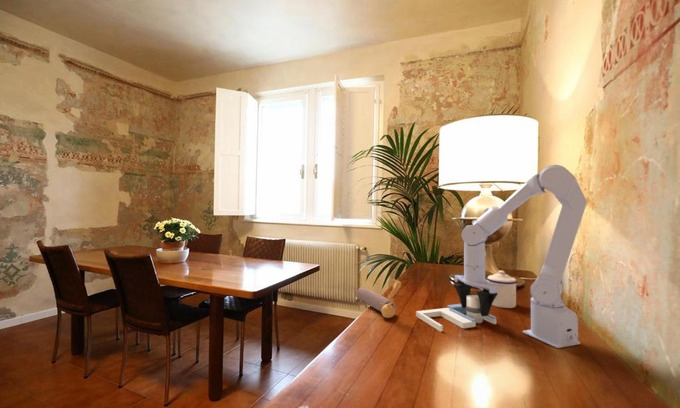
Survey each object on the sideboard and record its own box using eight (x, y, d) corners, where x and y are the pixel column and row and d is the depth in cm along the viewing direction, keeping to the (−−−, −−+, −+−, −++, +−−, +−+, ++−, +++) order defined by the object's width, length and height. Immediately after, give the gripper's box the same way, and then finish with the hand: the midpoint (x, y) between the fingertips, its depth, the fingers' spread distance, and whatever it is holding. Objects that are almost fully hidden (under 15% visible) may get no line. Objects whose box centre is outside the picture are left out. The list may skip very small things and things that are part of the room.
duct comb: (496, 323, 85) (496, 316, 85) (440, 331, 80) (440, 323, 80) (466, 309, 97) (466, 303, 97) (415, 315, 91) (415, 308, 91)
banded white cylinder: (485, 323, 85) (485, 299, 86) (469, 323, 86) (469, 299, 86) (479, 317, 90) (479, 294, 90) (463, 317, 90) (463, 294, 90)
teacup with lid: (521, 305, 102) (521, 271, 102) (510, 310, 97) (509, 274, 97) (486, 296, 112) (486, 266, 112) (474, 301, 106) (474, 268, 106)
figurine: (385, 312, 94) (385, 274, 95) (404, 315, 92) (403, 276, 92) (377, 321, 86) (377, 280, 87) (398, 324, 84) (397, 281, 84)
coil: (397, 300, 92) (367, 286, 109) (384, 300, 90) (356, 286, 107) (395, 315, 92) (365, 299, 108) (383, 316, 90) (354, 299, 106)
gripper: (505, 269, 83) (505, 318, 82) (467, 260, 96) (467, 302, 96) (486, 270, 80) (486, 321, 80) (449, 261, 94) (449, 304, 94)
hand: (474, 311), depth 88 cm, fingers open, 7 cm apart
